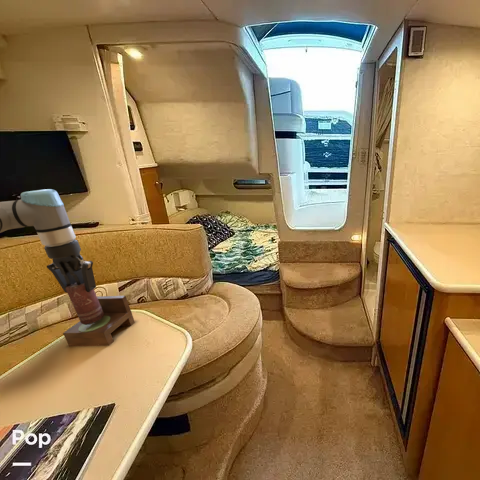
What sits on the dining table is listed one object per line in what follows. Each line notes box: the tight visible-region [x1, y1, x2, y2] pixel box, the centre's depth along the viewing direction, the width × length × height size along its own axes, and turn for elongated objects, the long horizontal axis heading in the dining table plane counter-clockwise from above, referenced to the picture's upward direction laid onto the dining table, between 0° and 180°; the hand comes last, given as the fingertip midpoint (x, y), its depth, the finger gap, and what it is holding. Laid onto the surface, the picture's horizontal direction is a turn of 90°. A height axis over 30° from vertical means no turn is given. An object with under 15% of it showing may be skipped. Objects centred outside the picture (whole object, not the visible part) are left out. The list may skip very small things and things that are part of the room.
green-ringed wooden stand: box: [62, 295, 136, 347], centre depth 91 cm, size 14×12×12 cm
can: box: [66, 283, 104, 325], centre depth 86 cm, size 6×6×14 cm
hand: (89, 309), depth 87 cm, fingers closed on can
